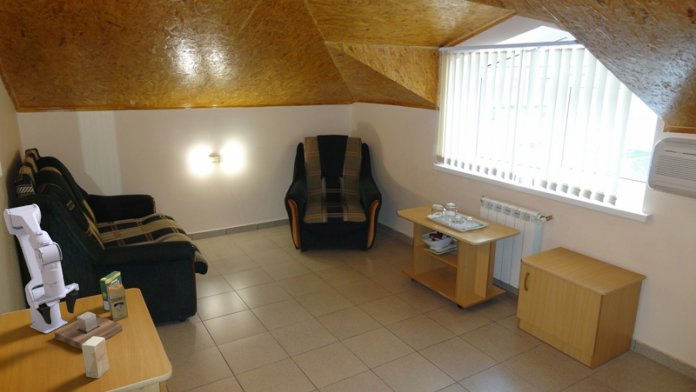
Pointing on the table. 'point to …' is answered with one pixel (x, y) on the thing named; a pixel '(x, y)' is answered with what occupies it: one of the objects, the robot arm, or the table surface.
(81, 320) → the peg
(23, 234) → the robot arm
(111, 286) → the shoe polish box
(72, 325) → the socket block
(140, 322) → the table surface
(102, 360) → the box
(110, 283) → the coffee box
